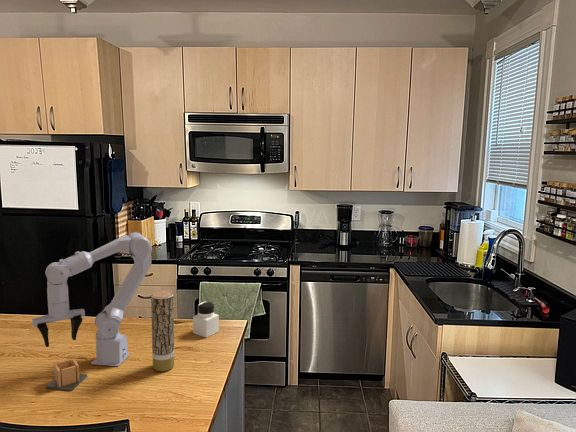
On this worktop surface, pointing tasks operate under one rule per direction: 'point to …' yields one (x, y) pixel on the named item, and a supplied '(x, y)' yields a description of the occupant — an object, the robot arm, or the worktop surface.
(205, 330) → the medicine bottle
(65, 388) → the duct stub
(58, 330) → the worktop surface
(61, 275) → the robot arm
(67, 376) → the brown hollow box
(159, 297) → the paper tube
